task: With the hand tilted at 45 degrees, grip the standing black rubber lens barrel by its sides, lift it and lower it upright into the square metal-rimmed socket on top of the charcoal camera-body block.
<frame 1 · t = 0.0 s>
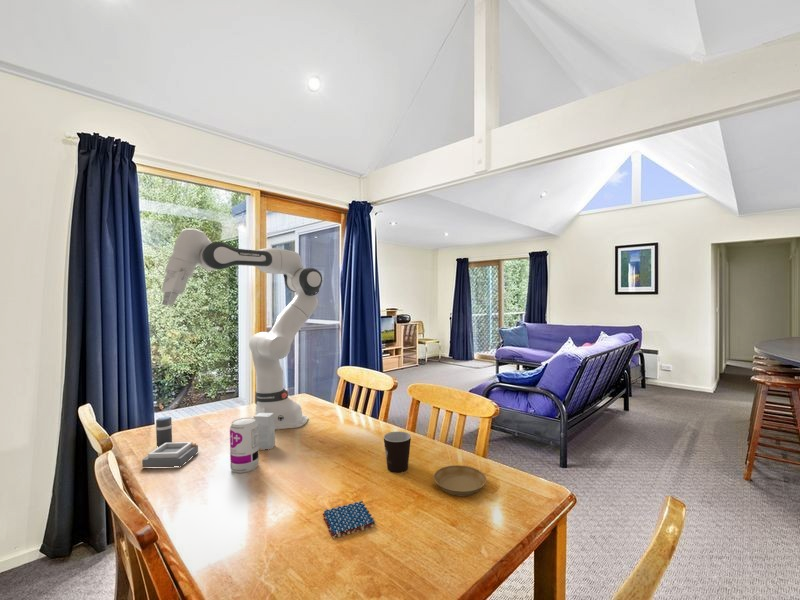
hand: (167, 305, 135), 52 cm above the table, tool tilted 20°, fingers open, 8 cm apart
supplement can: (244, 468, 119), on the table
coffee mug: (398, 466, 118), on the table
skincare box: (264, 447, 135), on the table
plant saucer: (459, 486, 106), on the table
woven mat: (348, 524, 90), on the table
lens: (164, 446, 138), on the table
dock: (171, 460, 125), on the table
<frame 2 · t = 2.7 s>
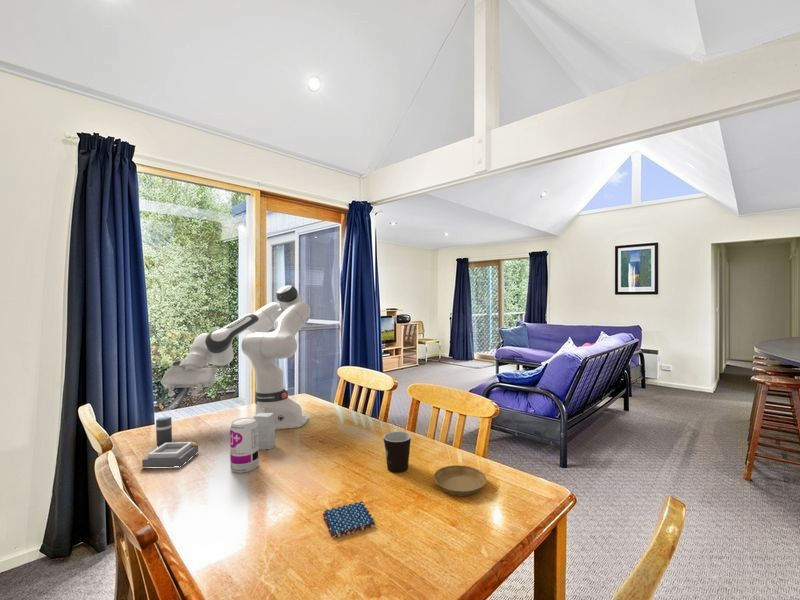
hand: (182, 395, 150), 15 cm above the table, tool tilted 45°, fingers open, 8 cm apart
nothing on the table moved.
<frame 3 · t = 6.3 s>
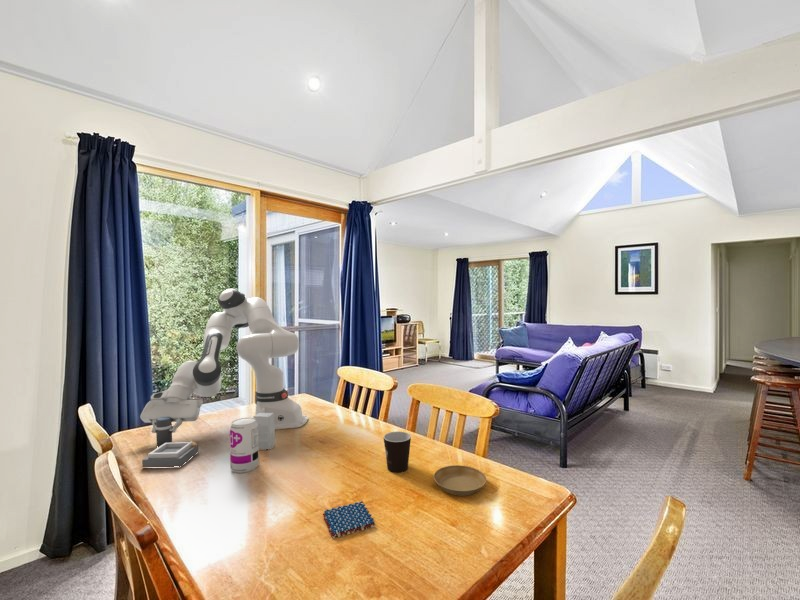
hand: (163, 432, 137), 5 cm above the table, tool tilted 45°, fingers closed on lens, 5 cm apart
lens: (164, 445, 138), on the table, touching gripper
everything else where it was.
when the fingers open (10 cm above the table, at t = 12.4 s): lens drops 1 cm, resting on dock.
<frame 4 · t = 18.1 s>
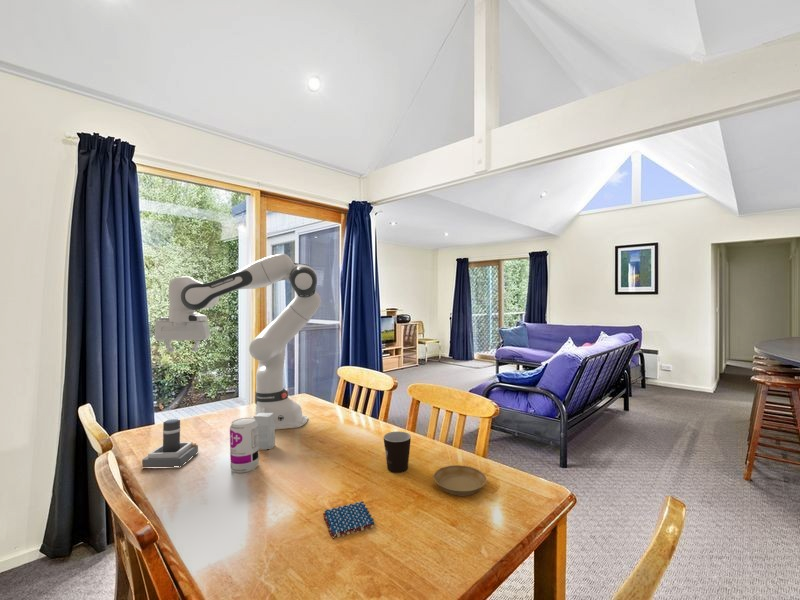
hand: (182, 351, 149), 33 cm above the table, tool pointing down, fingers open, 8 cm apart
lens: (171, 451, 125), point 3 cm above the table, touching dock
everything else where it was.
at the end: lens 0.1 cm off-centre on the dock, point 3.1 cm above the dock's base; lens tilted 2°; the gripper is holding nothing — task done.
